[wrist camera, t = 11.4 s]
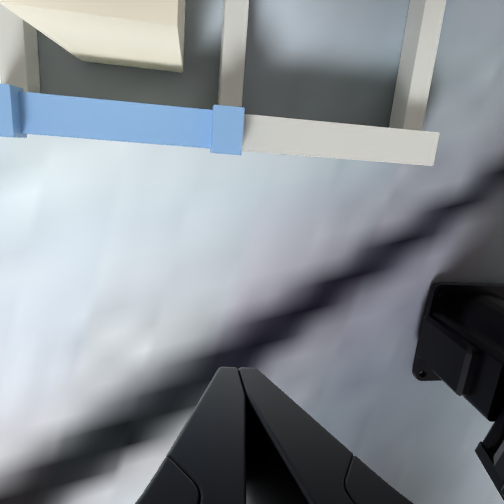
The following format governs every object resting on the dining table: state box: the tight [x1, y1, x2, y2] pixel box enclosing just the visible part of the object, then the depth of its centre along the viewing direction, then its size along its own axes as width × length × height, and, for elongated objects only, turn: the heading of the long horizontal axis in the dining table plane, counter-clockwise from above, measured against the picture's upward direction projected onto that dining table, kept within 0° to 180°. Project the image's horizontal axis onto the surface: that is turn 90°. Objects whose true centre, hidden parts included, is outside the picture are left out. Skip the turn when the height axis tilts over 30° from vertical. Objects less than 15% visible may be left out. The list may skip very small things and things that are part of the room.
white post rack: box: [0, 0, 446, 166], centre depth 16 cm, size 19×10×4 cm, turn 85°
